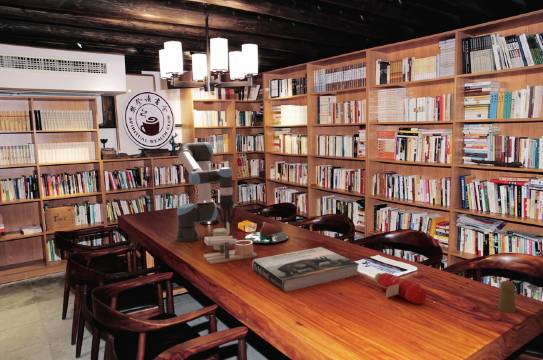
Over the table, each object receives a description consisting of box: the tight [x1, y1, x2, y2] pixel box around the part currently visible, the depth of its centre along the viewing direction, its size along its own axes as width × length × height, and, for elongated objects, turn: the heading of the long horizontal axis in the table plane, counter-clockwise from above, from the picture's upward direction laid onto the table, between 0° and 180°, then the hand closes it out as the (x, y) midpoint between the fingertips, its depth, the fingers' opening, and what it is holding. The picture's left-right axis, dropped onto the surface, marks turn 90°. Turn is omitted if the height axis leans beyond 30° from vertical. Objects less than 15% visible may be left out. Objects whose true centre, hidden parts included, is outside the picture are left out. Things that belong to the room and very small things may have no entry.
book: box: [251, 246, 360, 293], centre depth 199 cm, size 43×33×6 cm
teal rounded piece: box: [244, 221, 289, 244], centre depth 262 cm, size 28×28×11 cm
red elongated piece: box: [374, 272, 427, 305], centre depth 169 cm, size 12×8×25 cm
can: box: [212, 227, 229, 251], centre depth 244 cm, size 9×9×12 cm
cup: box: [233, 239, 254, 255], centre depth 231 cm, size 10×10×6 cm
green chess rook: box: [497, 280, 517, 314], centre depth 154 cm, size 6×6×11 cm
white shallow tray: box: [203, 235, 238, 247], centre depth 227 cm, size 15×16×3 cm
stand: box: [202, 242, 258, 265], centre depth 228 cm, size 15×28×10 cm, turn 114°
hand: (227, 233), depth 235 cm, fingers closed
